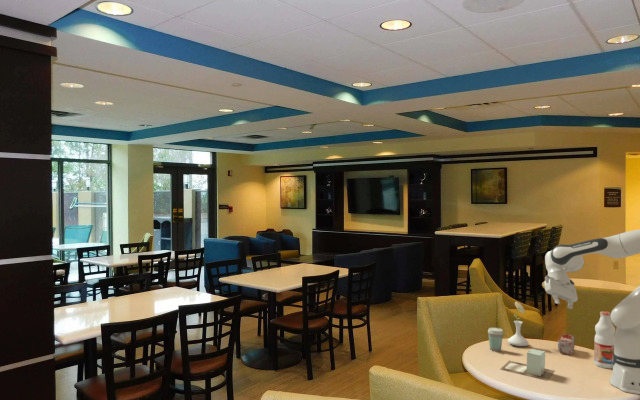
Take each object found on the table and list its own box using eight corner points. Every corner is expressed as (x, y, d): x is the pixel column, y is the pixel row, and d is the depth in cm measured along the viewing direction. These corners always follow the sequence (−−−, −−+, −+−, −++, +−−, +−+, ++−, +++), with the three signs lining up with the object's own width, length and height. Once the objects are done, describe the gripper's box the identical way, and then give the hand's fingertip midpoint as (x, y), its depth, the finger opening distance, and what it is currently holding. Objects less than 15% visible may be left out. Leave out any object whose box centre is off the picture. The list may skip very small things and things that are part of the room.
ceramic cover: (544, 371, 230) (545, 351, 230) (540, 376, 223) (540, 355, 223) (531, 368, 234) (531, 348, 234) (526, 373, 227) (526, 352, 227)
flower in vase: (530, 348, 266) (531, 305, 266) (509, 347, 268) (510, 304, 268) (525, 341, 279) (525, 300, 279) (505, 340, 281) (506, 299, 281)
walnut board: (554, 372, 230) (554, 370, 230) (547, 382, 218) (547, 380, 218) (509, 362, 244) (509, 360, 244) (499, 371, 231) (499, 369, 231)
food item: (573, 356, 254) (573, 338, 254) (557, 353, 258) (557, 336, 258) (575, 349, 266) (575, 332, 265) (559, 347, 270) (559, 330, 270)
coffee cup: (500, 353, 257) (501, 332, 257) (485, 350, 262) (485, 329, 262) (505, 349, 264) (505, 329, 264) (490, 346, 269) (490, 326, 269)
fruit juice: (603, 361, 247) (604, 309, 246) (619, 367, 238) (620, 313, 237) (589, 363, 244) (590, 310, 244) (605, 369, 235) (606, 315, 235)
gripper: (550, 272, 230) (555, 298, 222) (576, 283, 238) (583, 309, 230) (539, 276, 235) (544, 302, 227) (565, 287, 242) (571, 312, 235)
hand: (564, 305), depth 229 cm, fingers open, 8 cm apart
